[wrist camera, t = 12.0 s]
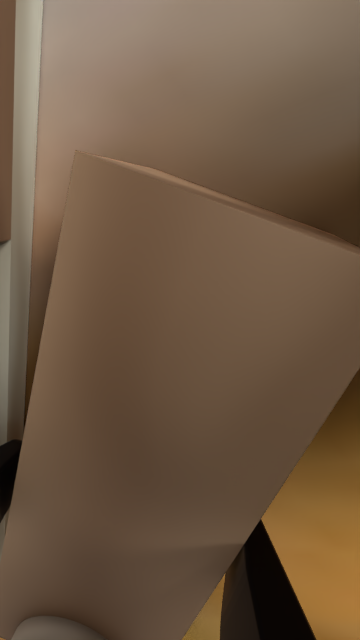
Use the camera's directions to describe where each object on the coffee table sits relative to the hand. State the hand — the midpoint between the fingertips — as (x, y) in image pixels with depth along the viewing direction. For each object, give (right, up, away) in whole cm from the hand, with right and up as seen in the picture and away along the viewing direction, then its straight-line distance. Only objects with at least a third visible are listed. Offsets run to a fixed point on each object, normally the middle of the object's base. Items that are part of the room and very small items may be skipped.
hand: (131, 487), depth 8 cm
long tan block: (+1, +1, +3) cm, 4 cm away
